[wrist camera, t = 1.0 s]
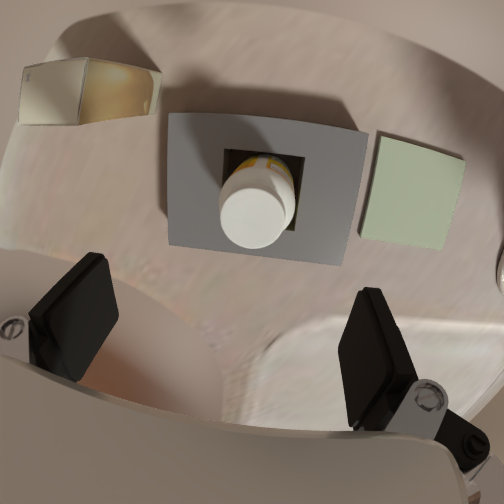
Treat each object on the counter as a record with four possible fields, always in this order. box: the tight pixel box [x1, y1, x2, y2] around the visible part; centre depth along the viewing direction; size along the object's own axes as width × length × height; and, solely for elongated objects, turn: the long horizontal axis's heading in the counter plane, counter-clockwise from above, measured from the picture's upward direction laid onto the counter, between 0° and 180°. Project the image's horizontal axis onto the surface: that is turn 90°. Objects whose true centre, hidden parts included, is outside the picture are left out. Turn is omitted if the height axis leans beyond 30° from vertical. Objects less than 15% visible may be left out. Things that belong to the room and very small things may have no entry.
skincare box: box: [18, 57, 162, 126], centre depth 17 cm, size 6×4×12 cm
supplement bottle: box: [219, 154, 295, 249], centre depth 22 cm, size 5×5×10 cm
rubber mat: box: [359, 136, 466, 250], centre depth 25 cm, size 10×10×1 cm
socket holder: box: [167, 112, 369, 266], centre depth 25 cm, size 16×12×3 cm
